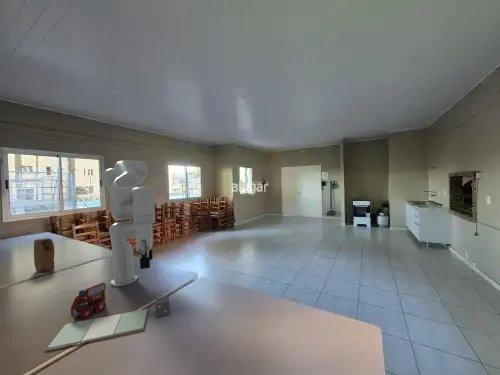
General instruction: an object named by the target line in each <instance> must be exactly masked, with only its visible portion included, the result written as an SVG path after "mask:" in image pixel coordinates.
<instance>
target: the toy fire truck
mask: <svg viewBox="0 0 500 375" xmlns="http://www.w3.org/2000/svg"><path fill="white" fill-rule="evenodd" d="M106 286H107V285H106V283H105V282H101V283H98V284H95V285H92V286H90V287H87V288H86V289H85V290H84V289H82V290H79V292H78V295H76V296H75V298H74V299H73V302H72V304H71V307H70V316H71V317H72V318H77V317H80V318H81V319H82V320H83V319H84V320H85V319H88V318H90V317H91V315H93V310H94V311H95V312H96V313H101V312H104V310H105V309H106V307H107V303H106V292H105V291H106V288H107V287H106Z"/></svg>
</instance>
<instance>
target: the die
mask: <svg viewBox="0 0 500 375" xmlns="http://www.w3.org/2000/svg"><path fill="white" fill-rule="evenodd" d="M170 304H171V303H170V295H167V296H162V297H161V296H160V297H155V318H158V317H163V316H167V315H170V314H171V310H170V307H171V306H170Z"/></svg>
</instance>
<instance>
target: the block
mask: <svg viewBox="0 0 500 375" xmlns="http://www.w3.org/2000/svg"><path fill="white" fill-rule="evenodd" d="M33 259H34V260H33V261H34V262H33V264H34V267H35V268H34V269H35V272H37V273H48V272H51V271H53V270H55V245H54V241H53V240H52V238H50V237H49V238H48V237H45V238H39V239H37V238H36V239H35V240H33Z"/></svg>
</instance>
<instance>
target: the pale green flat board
mask: <svg viewBox="0 0 500 375" xmlns="http://www.w3.org/2000/svg"><path fill="white" fill-rule="evenodd" d="M148 313H149V308H145V309H139V310H134V311H130V312H128V311H127V312H124V313H119V314H113V315H107V316H103V317H98V318H91V319H87V320H82V321H76V322H75V321H74V322H70V323H66V324H64V326H63V327H62V328H61V330H60V331H59V332H58V333H57V335H56V336H54V338H53V340H52V341H51V342H50V343H49V344H50V345H49V344H48V346H47V347H56V346H68V345H73V344H78V343H82V342H89V343H93V341H94V342H98V340H99V341H102V339H103V340H108V339H112V338H117V337H121V336H120V335H122V336H126V335H125V334H127V335H130V334H129V333H131V334H134V333H133V332H136V333H140V332H144V331H145V327H146V322H147V317H148ZM143 330H144V331H143ZM139 331H140V332H139ZM107 338H108V339H107Z"/></svg>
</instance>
